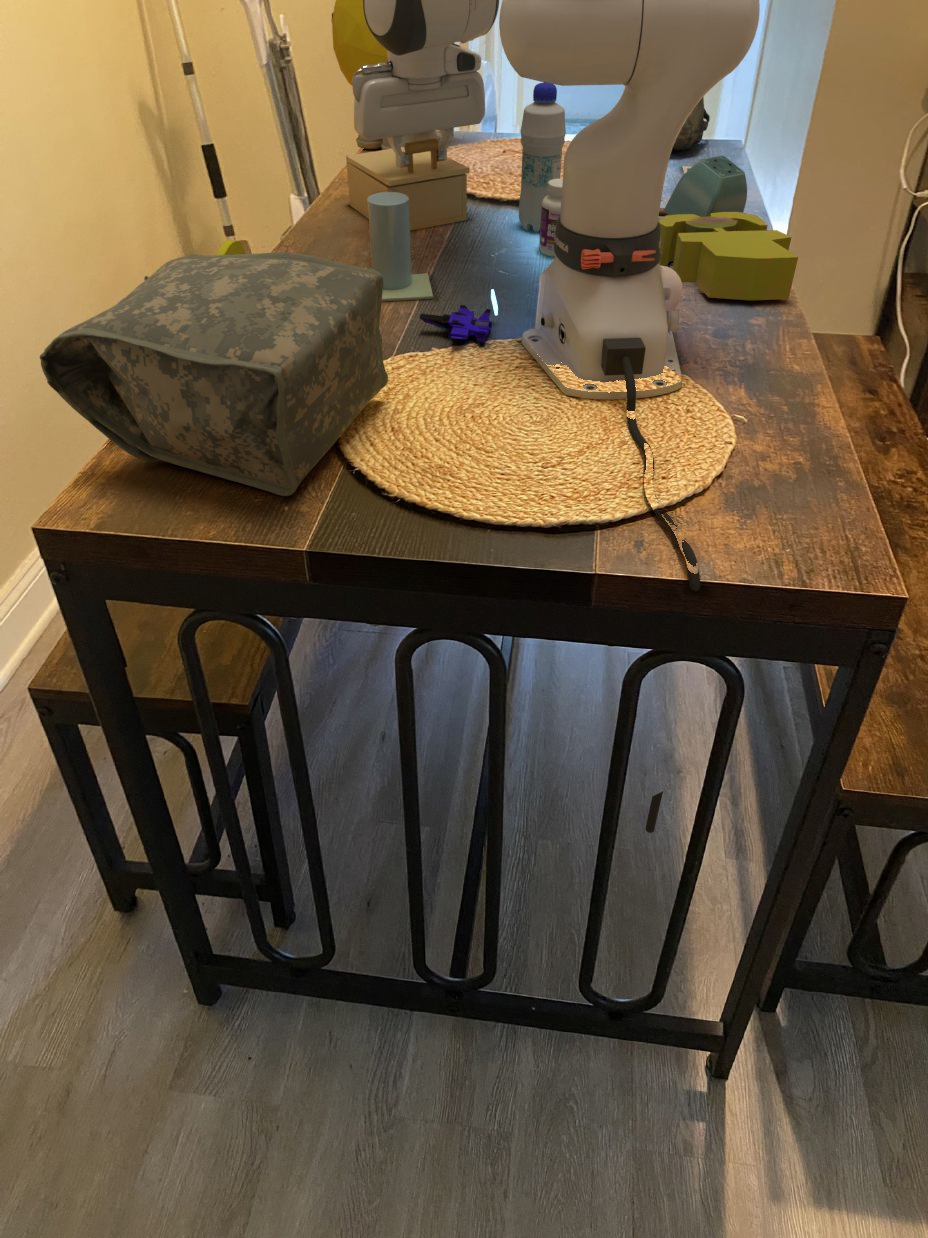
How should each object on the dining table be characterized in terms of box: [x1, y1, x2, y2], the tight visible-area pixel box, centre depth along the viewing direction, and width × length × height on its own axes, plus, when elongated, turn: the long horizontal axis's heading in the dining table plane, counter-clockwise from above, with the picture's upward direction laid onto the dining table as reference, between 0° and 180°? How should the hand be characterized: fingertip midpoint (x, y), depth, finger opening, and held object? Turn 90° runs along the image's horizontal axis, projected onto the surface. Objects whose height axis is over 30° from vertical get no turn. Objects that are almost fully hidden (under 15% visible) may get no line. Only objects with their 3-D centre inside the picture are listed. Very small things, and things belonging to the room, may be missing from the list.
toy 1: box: [331, 0, 475, 150], centre depth 171 cm, size 27×24×30 cm
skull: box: [672, 96, 711, 151], centre depth 175 cm, size 20×18×20 cm
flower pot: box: [664, 155, 748, 217], centre depth 138 cm, size 9×9×9 cm
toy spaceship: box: [419, 304, 493, 348], centre depth 114 cm, size 10×9×2 cm
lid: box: [345, 138, 470, 186], centre depth 142 cm, size 16×14×5 cm
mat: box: [382, 273, 434, 302], centre depth 125 cm, size 8×10×1 cm
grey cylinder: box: [367, 192, 413, 290], centre depth 123 cm, size 7×5×11 cm
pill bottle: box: [538, 178, 563, 258], centre depth 133 cm, size 5×5×10 cm
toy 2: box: [658, 212, 799, 301], centre depth 126 cm, size 16×6×20 cm
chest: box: [346, 161, 468, 232], centre depth 146 cm, size 16×14×7 cm
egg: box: [661, 266, 683, 311], centre depth 116 cm, size 6×6×8 cm
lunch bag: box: [39, 251, 389, 497], centre depth 93 cm, size 22×16×27 cm
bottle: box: [518, 82, 567, 233], centre depth 137 cm, size 7×7×20 cm
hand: (421, 163), depth 139 cm, fingers closed on lid, 5 cm apart
